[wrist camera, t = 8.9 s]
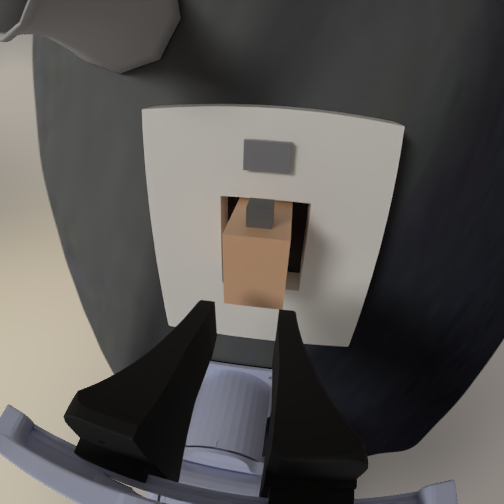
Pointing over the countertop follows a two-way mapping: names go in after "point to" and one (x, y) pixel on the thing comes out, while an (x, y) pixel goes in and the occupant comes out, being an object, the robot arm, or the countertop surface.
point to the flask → (96, 28)
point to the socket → (277, 188)
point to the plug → (257, 252)
